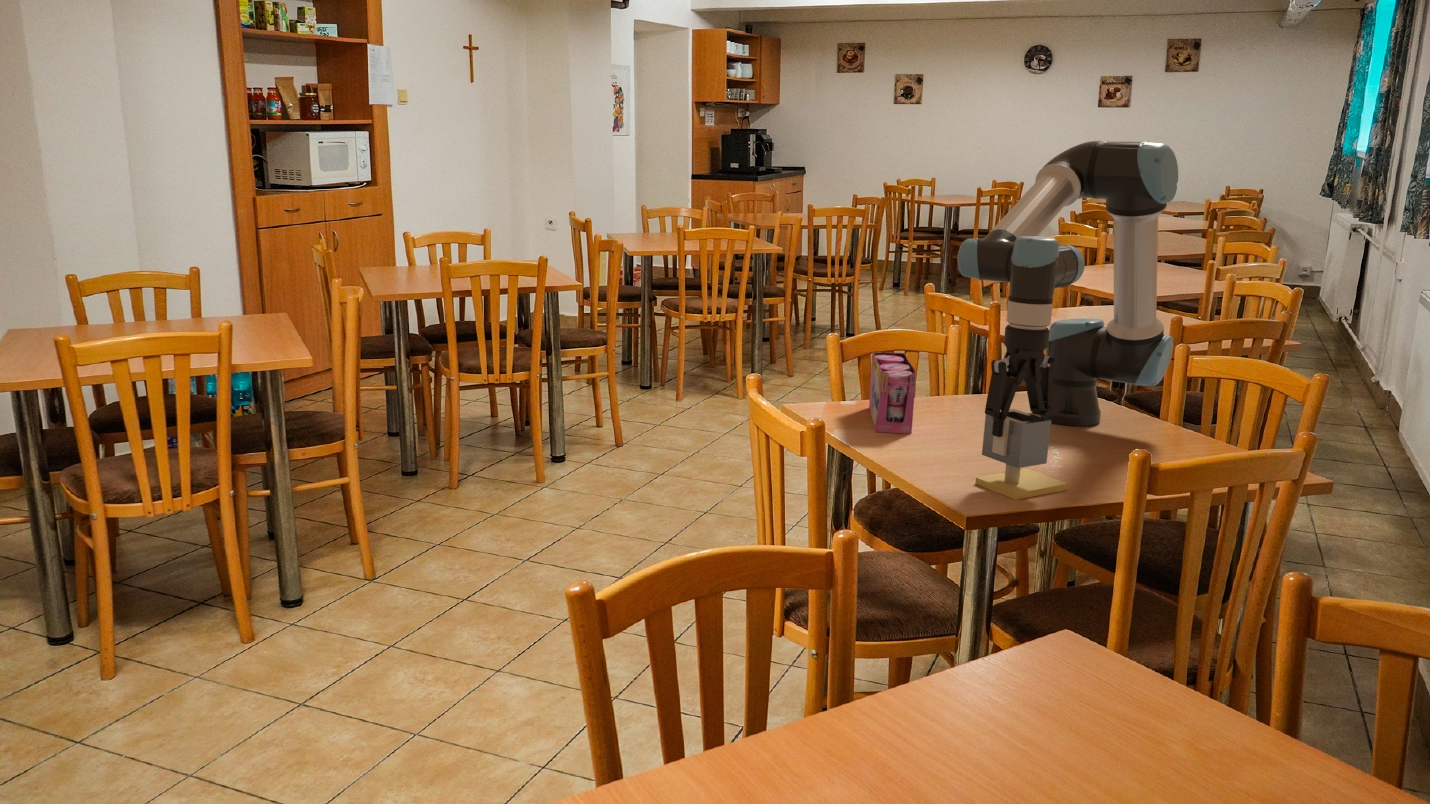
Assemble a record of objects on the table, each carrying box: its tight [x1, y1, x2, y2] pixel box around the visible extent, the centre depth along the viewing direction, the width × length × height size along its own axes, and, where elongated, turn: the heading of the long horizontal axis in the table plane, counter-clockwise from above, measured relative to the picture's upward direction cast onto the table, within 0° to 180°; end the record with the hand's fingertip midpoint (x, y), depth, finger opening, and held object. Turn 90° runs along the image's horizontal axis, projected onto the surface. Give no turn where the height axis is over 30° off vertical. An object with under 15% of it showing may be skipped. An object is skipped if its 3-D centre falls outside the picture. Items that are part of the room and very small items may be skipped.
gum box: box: [868, 351, 917, 435], centre depth 236 cm, size 24×8×14 cm, turn 176°
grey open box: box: [981, 408, 1052, 469], centre depth 190 cm, size 9×7×8 cm
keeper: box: [974, 463, 1068, 501], centre depth 193 cm, size 13×10×7 cm
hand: (1014, 450), depth 191 cm, fingers closed on grey open box, 7 cm apart
